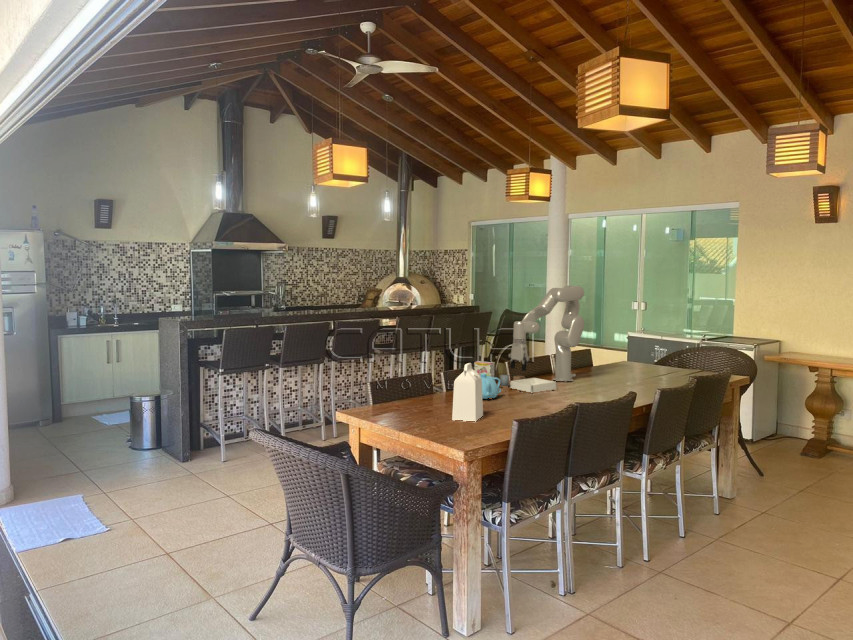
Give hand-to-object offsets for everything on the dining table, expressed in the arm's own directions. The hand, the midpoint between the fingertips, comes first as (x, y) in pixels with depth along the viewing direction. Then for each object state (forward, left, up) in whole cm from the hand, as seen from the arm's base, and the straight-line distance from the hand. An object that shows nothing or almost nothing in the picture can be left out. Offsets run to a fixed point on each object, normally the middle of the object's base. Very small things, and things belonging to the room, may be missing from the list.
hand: (518, 369), depth 393 cm
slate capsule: (+12, +1, -9) cm, 15 cm away
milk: (+81, +51, -9) cm, 96 cm away
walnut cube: (-1, 0, -9) cm, 9 cm away
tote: (+5, +18, -9) cm, 21 cm away
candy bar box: (+28, +1, -9) cm, 30 cm away
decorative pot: (+44, +19, -10) cm, 49 cm away
